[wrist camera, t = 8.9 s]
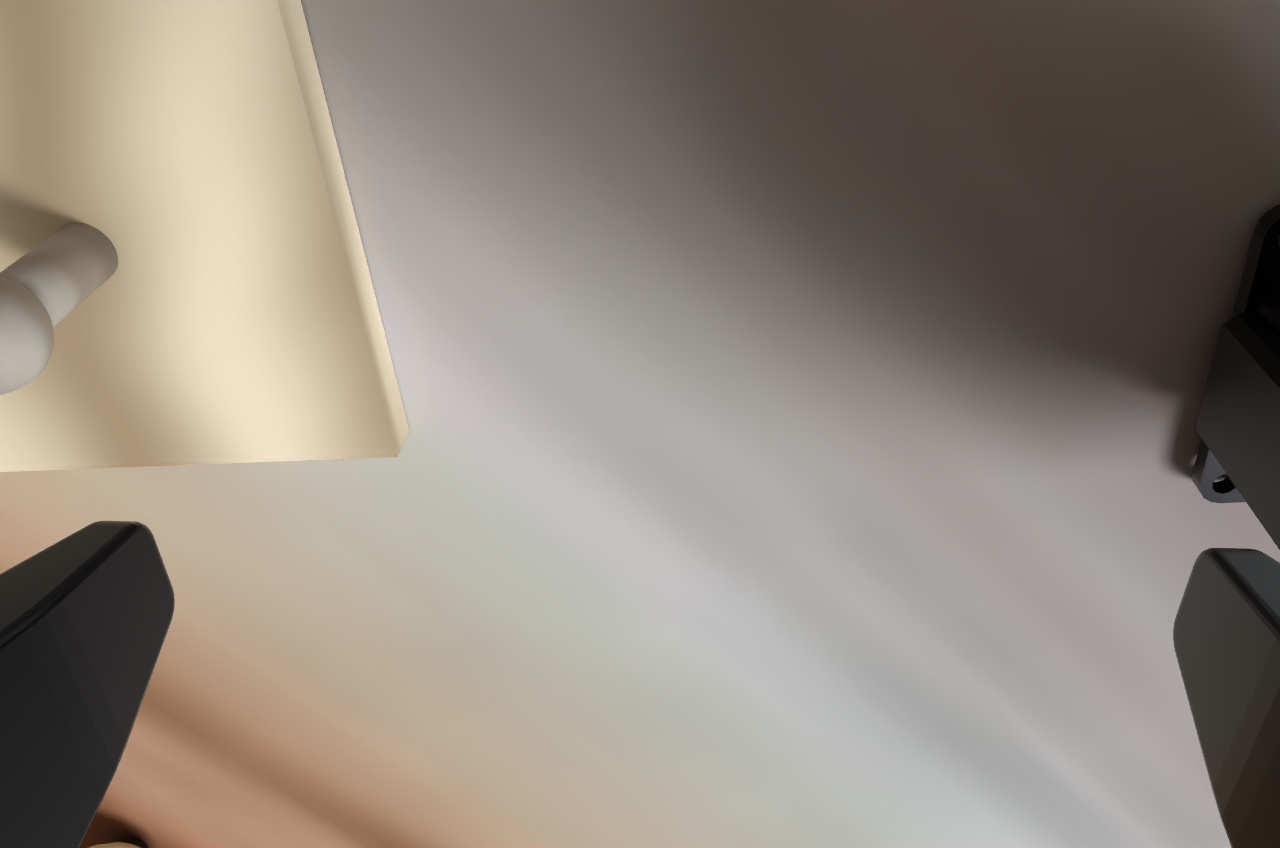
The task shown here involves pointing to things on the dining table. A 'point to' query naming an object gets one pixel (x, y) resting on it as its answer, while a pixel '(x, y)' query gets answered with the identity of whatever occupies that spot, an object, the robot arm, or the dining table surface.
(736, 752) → the dining table surface
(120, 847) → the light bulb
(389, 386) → the stud base
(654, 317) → the dining table surface
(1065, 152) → the dining table surface
